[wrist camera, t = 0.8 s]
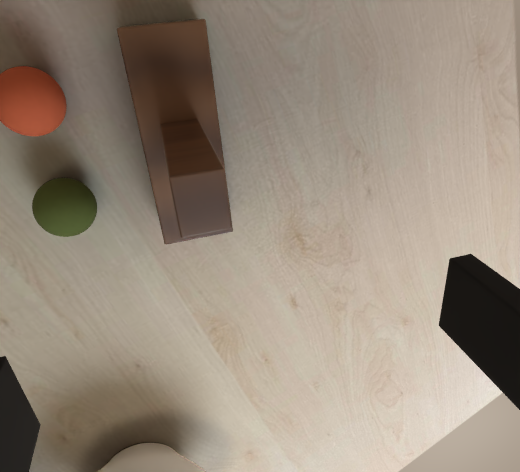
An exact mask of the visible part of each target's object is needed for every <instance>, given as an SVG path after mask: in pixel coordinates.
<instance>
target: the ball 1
mask: <svg viewBox="0 0 520 472" xmlns="http://www.w3.org/2000/svg"><path fill="white" fill-rule="evenodd" d="M65 114H66V99H65V96H64V93H63V91H62V89H61V87H60V86H59V84H58V83H57V82H56V81H55V80H54V79H53V78H52V77H51V76H50V75H48V74H47V73H45V72H43V71H41V70H39V69H36V68H33V67H27V66H19V67H13V68H10V69H8V70H6V71H4V72H2V73H1V74H0V121H1V122H2V123H3V124H4V125H5V126H6V127H8V128H9V129H11V130H13V131H14V132H17V133H19V134H22V135H26V136H41V135H45V134H48V133H50V132H52V131H54V130H55V129H56V128H57V127H58V126H59V125H60V124H61V123H62V121H63V119H64V117H65Z"/></svg>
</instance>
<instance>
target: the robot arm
mask: <svg viewBox="0 0 520 472" xmlns="http://www.w3.org/2000/svg"><path fill="white" fill-rule="evenodd" d="M439 326H440V327H441V328H442V329H443V330H444V331H445V332H446V333H447V335H448V336H449V337H450V338H451V339H452V340H453V341H454V342H455V343H456V344H457V345H458V346H459V347H460V348H461V349H462V350H463V351H464V352H465V353H466V354H467V355H468V356H469V358H470V359H471V360H472V361H473V362H474V363H475V364H476V365H477V366H478V367H479V368H480V369H481V370H482V371H483V372H484V373H485V374H486V375H487V376H488V377H489V378H490V379H491V380H492V382H493V383H494V384H495V385H496V386H497V387H498V388H499V389H500V390H501V391H502V392H503V393H504V394H505V395H506V396H507V397H508V398H509V399H510V400H511V401H512V402H513V403H514V405H516V407H517V408H519V410H520V289H519V288H517V287H516V286H515V285H513V284H512V283H511V282H509V281H508V280H506V279H505V278H504V277H502V276H501V275H499V274H498V273H497V272H495V271H494V270H493V269H491V268H490V267H488V266H487V265H486V264H484V263H483V262H481V261H480V260H479V259H477V258H476V257H475V256H473V255H472V254H468V255H464V256H459V257H455V258H450V260H449V266H448V272H447V279H446V285H445V291H444V297H443V303H442V309H441V315H440V321H439ZM39 429H40V423H39V421H38V419H37V417H36V415H35V413H34V411H33V409H32V407H31V405H30V403H29V401H28V400H27V398H26V396H25V394H24V392H23V390H22V388H21V386H20V384H19V382H18V380H17V378H16V376H15V374H14V372H13V370H12V368H11V366H10V364H9V362H8V360H7V358H6V356H4V357H0V472H29V469H30V465H31V461H32V457H33V453H34V449H35V445H36V441H37V437H38V433H39Z"/></svg>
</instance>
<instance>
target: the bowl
mask: <svg viewBox="0 0 520 472" xmlns="http://www.w3.org/2000/svg"><path fill="white" fill-rule="evenodd" d="M98 472H206V471H205V470H204V469H202V468H201V467H199V466H198V465H196V464H195V463H193V462H192V461H190V460H189V459H187V458H185V457H183V456H181V455H179V454H178V453H177V452H176V451H175V450H174V449H172V448H171V447H169V446H166V445H163V444H159V443H141V444H137V445H133V446H131V447H128V448H126V449H124V450H122V451H121V452H119V453H118V454H116V455H115V456H114V457H113V458H112V459H111V460H110V461H109V462H108V463H107V464H106V465H105V466H104V467H103V468H102V469H100V470H99V471H98Z"/></svg>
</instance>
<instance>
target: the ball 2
mask: <svg viewBox="0 0 520 472" xmlns="http://www.w3.org/2000/svg"><path fill="white" fill-rule="evenodd" d="M32 209H33V214H34V217H35V219H36V221H37V222H38V224H39V225H40V226H41V227H42V228H43V229H44V230H46V231H47V232H49V233H51V234H53V235H57V236H63V237H68V236H74V235H78V234H80V233H82V232H84V231H85V230H87V229H88V228H89V227H90V226H91V224H92V223H93V221H94V219H95V217H96V213H97V203H96V199H95V197H94V195H93V193H92V192H91V190H90V189H89V188H88V187H87V186H86V185H84V184H83V183H81V182H79V181H77V180H75V179H71V178H57V179H53V180H50V181H48V182H46V183H45V184H43V185H42V186H41V187H40V188H39V189H38V191H37V192H36V194H35V196H34V199H33V203H32Z"/></svg>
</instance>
